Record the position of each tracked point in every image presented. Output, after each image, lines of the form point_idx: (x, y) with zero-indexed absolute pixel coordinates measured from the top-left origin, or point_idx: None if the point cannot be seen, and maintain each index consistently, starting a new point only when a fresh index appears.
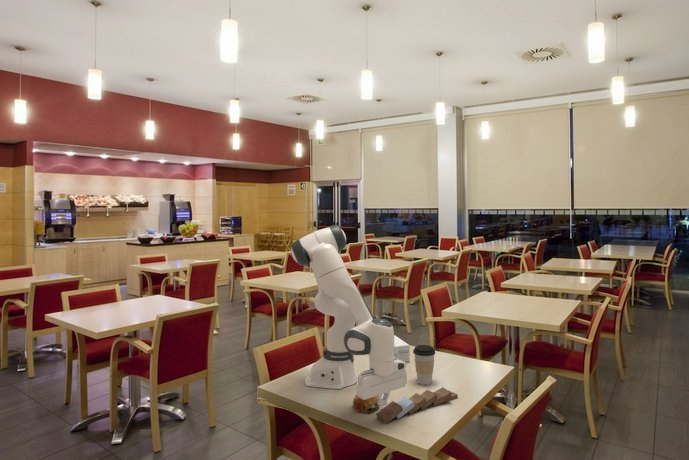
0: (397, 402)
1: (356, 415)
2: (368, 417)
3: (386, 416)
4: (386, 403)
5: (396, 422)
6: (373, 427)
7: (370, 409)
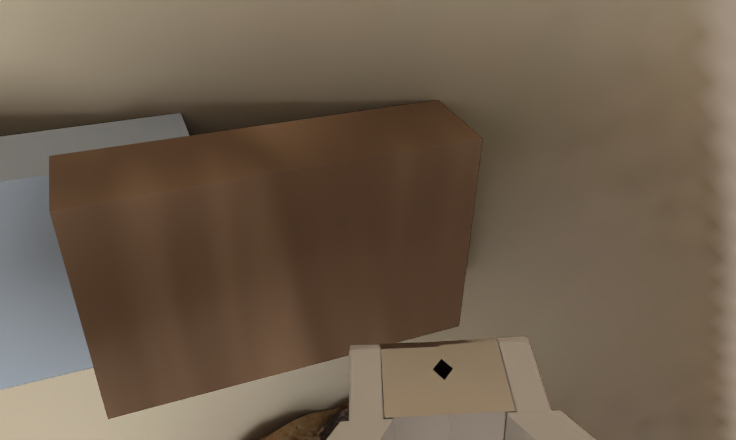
0: (20, 381)
1: None
2: None
3: (422, 163)
4: (373, 354)
5: (269, 44)
6: (661, 111)
7: None
